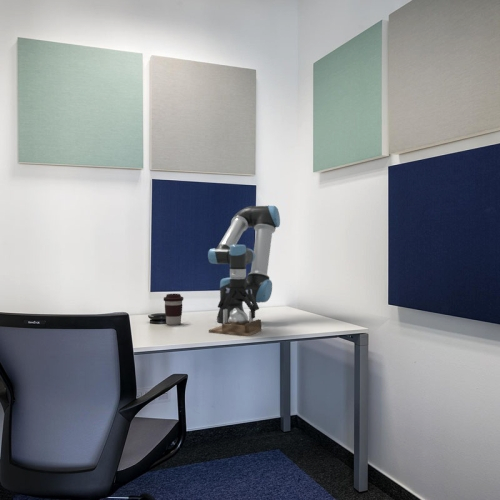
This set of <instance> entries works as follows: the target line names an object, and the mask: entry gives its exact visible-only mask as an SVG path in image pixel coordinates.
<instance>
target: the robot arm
mask: <svg viewBox="0 0 500 500" xmlns="http://www.w3.org/2000/svg"><path fill="white" fill-rule="evenodd" d="M232 217H233V218H232V219H231V221H230V226H229V227H228V229H227V231H225V234H224V236H223V237H222V239H221V241H220V242H219V244H218V245H217V247H216V248H215V247H214V248H210V249H209V250H208V251H207V258H208V262H209V263H210V264H212V265H213V264H214V265H215V264H216V265H229V277H225V278H224V277H223V278H222V279H220V283H219V297H220V298H219V302H218V305H217V308H218V313H217V316H216V322H217V323H220V324H230V323H229V322H228V319H229V316H230V311H231V310H233V309H234V308H239V309H240V310H242V311H244V312H245V310H244V306H243V302H244V303H245V304H246V307H248V309H249V312H248V313H249V314H248V321H249V323H250V322H252V321H254V319H255V318H256V311H258V310H259V309H260V307H259V305H258V304H260V303H267V302H268V301H269V300H270V298H271V296H272V292H273V282H272V280H271V279H270V276H269V275H268V269H269V262H270V253H271V246H272V245H271V244H272V238H273V234H274V233H275V232H276V228H279V227H280V225H281V218H280V213H279V209H278V207H277V206H275V205H250V206H247V207H244V208H243V209H240V210H238V212H237V213H235V214H234V215H233V216H232ZM248 228H253V230H254V231H255V238H254V247H253V249H251V248H249V247H247V246H246V244H238V242H239V240H240V238H241V236H242V235H243V233H244V232H245V231H247V230H248ZM250 264H251V269H250V272H249V273H247V265H250Z"/></svg>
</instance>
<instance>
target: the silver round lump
mask: <svg viewBox="0 0 500 500" xmlns="http://www.w3.org/2000/svg"><path fill="white" fill-rule="evenodd" d="M248 321H249V315H248V314H247V313H246V312H245V310H244V311H242V310H240V309H239V308H234V309H233V310H231V311H230V316H229V319H228V322H229V323H230V324H231V325H243V326H245V324H247V323H248ZM229 323H228V324H229Z"/></svg>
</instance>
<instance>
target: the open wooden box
mask: <svg viewBox="0 0 500 500" xmlns="http://www.w3.org/2000/svg"><path fill="white" fill-rule="evenodd" d="M260 332H262V319H256V320H253V321H252V322H250V323H249V320H248V323H247V324H245V326H243V325H231V324H229V323H225V324H223V323H221V325H219V326H217V327H214V328H210V329H208V333H211V334H219V335H220V334H222V335H230V336H231V335H233V336H234V335H235V336H243V337H244V336H245V337H249V336H252V335H254V334H256V333H260Z"/></svg>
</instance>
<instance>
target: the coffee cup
mask: <svg viewBox="0 0 500 500" xmlns="http://www.w3.org/2000/svg"><path fill="white" fill-rule="evenodd" d="M181 295H182V294H180V293H168V294H166V295H165V296H164V297H163V301H164V315H165V322H166V324H167V325H169V326H170V325H171V326H176V325H177V326H178V325H180V324H181V323H182V316H183V301H184V297H183V296H181Z"/></svg>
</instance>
